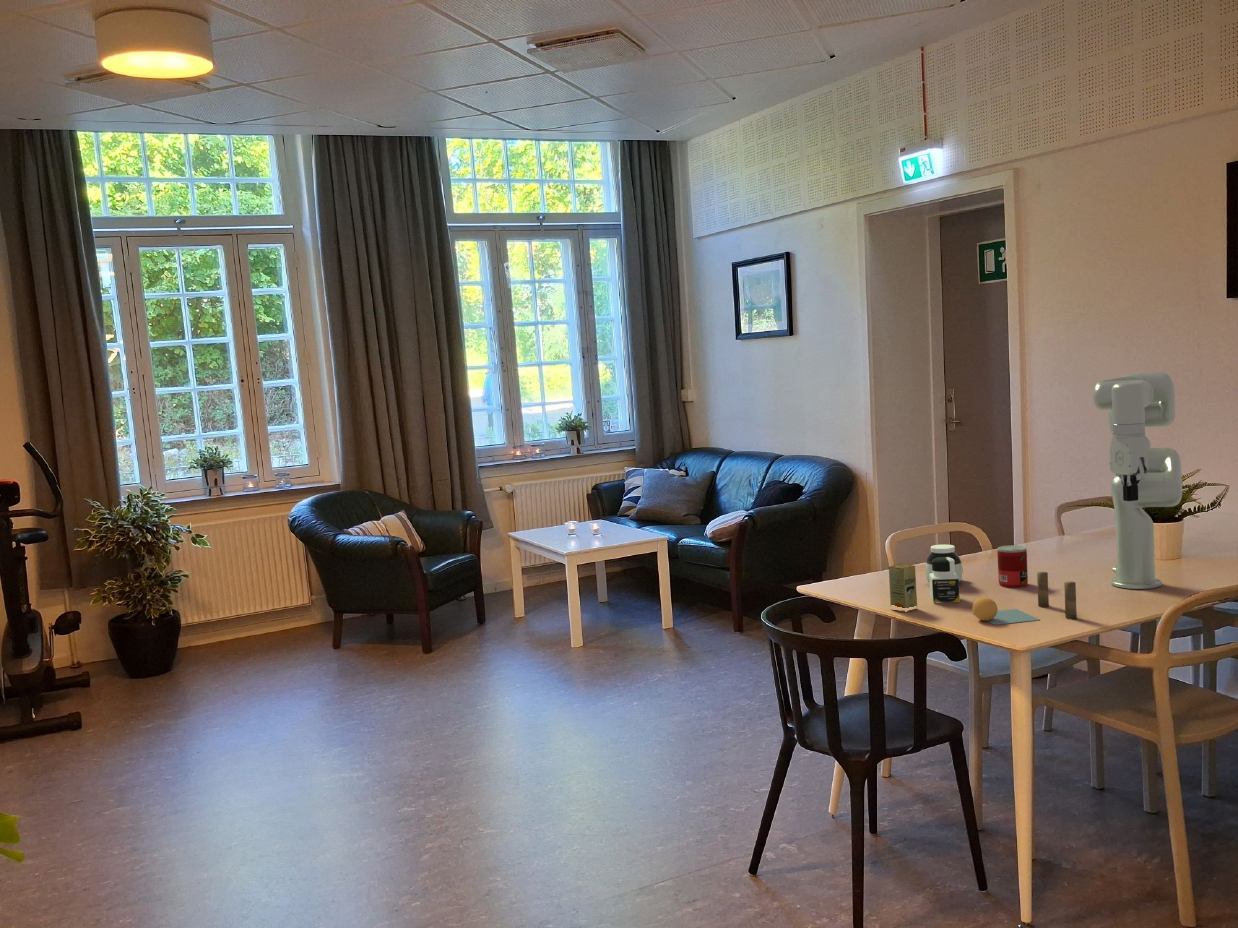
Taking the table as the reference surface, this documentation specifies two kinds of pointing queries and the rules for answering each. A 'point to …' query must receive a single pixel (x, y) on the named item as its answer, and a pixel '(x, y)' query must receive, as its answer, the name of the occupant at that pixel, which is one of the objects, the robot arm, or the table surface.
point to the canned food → (1012, 566)
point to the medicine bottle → (944, 581)
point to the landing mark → (1011, 617)
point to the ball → (985, 609)
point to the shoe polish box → (902, 585)
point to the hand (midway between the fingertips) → (1130, 500)
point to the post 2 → (1070, 600)
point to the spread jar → (944, 552)
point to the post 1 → (1042, 589)
